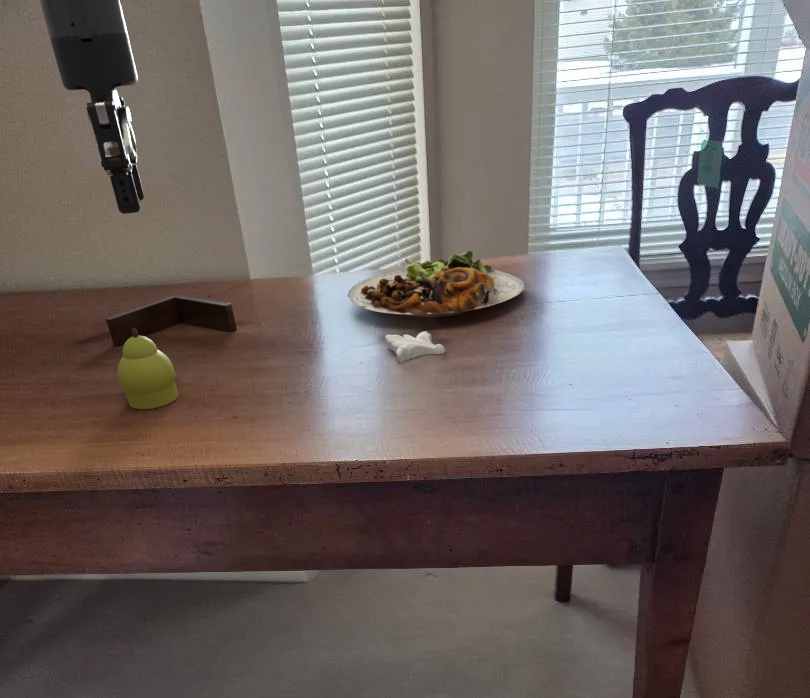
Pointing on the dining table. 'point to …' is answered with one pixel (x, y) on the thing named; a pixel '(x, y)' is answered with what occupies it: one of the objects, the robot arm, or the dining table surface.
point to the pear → (146, 374)
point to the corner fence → (171, 317)
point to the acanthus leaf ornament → (413, 346)
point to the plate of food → (436, 288)
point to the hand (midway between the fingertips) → (133, 206)
